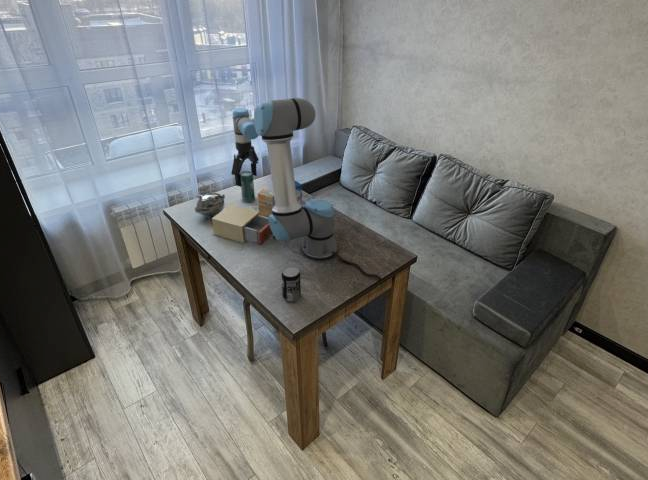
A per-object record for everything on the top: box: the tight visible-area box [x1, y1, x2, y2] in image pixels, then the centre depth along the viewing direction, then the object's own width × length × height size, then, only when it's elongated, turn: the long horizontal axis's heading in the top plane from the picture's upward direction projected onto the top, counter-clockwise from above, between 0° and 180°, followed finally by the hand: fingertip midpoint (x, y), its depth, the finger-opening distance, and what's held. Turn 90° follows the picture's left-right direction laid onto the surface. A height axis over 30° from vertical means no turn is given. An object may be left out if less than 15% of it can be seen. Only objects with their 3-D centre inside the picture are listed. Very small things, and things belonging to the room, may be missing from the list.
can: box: [240, 170, 256, 203], centre depth 204 cm, size 6×6×15 cm
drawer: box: [243, 215, 277, 246], centre depth 177 cm, size 20×13×7 cm, turn 68°
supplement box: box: [257, 188, 275, 217], centre depth 191 cm, size 8×5×13 cm, turn 68°
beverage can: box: [281, 265, 302, 302], centre depth 144 cm, size 7×7×12 cm
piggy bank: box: [194, 192, 226, 220], centre depth 190 cm, size 11×15×12 cm
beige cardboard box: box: [211, 203, 260, 244], centre depth 180 cm, size 16×14×9 cm
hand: (246, 180), depth 202 cm, fingers open, 13 cm apart
